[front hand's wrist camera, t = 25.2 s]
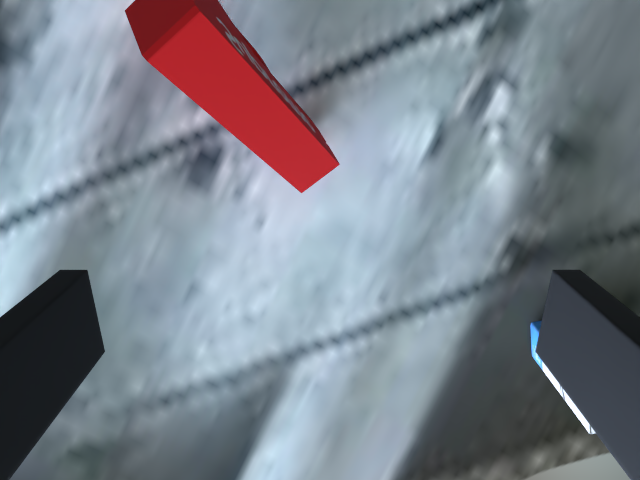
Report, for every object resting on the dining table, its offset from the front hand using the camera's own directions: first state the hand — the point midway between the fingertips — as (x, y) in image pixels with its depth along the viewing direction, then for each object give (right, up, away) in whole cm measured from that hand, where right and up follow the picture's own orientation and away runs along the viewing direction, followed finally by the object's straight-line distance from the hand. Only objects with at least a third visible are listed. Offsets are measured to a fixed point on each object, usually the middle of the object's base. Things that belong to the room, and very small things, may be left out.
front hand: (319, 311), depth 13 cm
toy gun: (-6, +17, +27) cm, 32 cm away
